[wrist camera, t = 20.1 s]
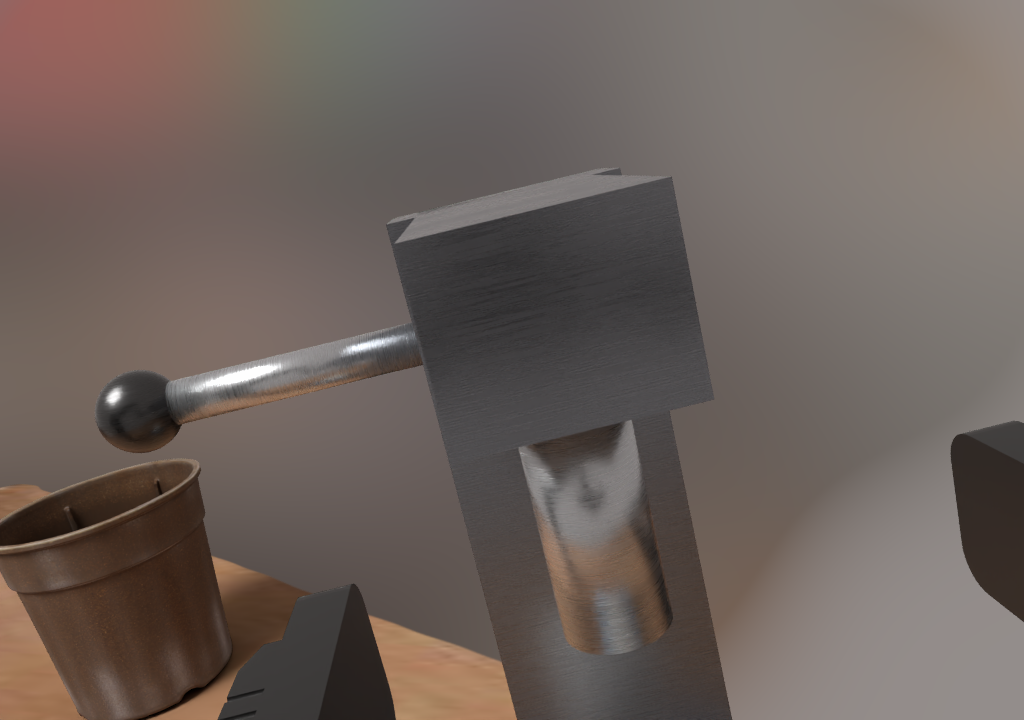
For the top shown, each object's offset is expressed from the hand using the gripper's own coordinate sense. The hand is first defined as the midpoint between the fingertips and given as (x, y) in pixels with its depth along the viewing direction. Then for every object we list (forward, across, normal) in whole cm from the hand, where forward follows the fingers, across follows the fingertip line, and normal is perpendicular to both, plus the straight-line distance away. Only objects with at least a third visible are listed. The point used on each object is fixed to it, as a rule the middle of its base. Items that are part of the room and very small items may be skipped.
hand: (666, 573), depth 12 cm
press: (+14, +5, +28) cm, 32 cm away
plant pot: (+56, +34, +28) cm, 72 cm away
